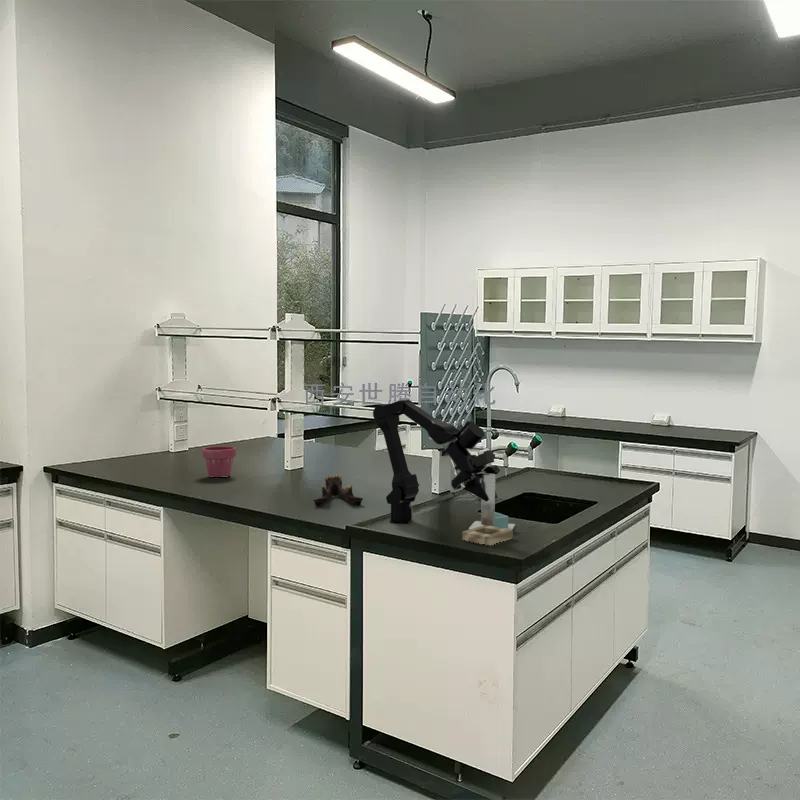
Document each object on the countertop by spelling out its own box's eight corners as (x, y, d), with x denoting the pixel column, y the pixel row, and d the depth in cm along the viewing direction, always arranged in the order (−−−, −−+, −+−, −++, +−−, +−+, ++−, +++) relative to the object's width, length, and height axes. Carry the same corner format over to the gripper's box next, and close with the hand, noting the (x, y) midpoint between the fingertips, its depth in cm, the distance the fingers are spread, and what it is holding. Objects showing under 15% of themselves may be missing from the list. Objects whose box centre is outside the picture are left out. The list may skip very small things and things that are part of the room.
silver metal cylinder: (480, 525, 217) (481, 475, 216) (481, 522, 221) (482, 472, 220) (494, 525, 216) (495, 475, 215) (494, 522, 220) (495, 473, 219)
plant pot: (215, 473, 331) (215, 445, 330) (242, 475, 326) (242, 446, 325) (196, 478, 318) (195, 448, 317) (223, 480, 313) (223, 450, 312)
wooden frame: (462, 540, 218) (462, 531, 217) (484, 532, 227) (485, 524, 227) (490, 546, 211) (490, 537, 211) (512, 538, 220) (512, 530, 220)
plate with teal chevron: (468, 530, 229) (468, 517, 229) (475, 522, 240) (475, 510, 239) (510, 533, 225) (510, 520, 225) (514, 525, 236) (515, 513, 236)
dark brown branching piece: (365, 501, 285) (370, 477, 284) (358, 520, 261) (363, 493, 260) (322, 492, 286) (327, 467, 285) (310, 509, 262) (316, 483, 260)
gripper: (460, 444, 212) (491, 487, 206) (495, 439, 227) (525, 479, 220) (438, 468, 218) (467, 510, 212) (474, 461, 232) (502, 500, 226)
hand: (492, 499), depth 217 cm, fingers closed on silver metal cylinder, 4 cm apart
